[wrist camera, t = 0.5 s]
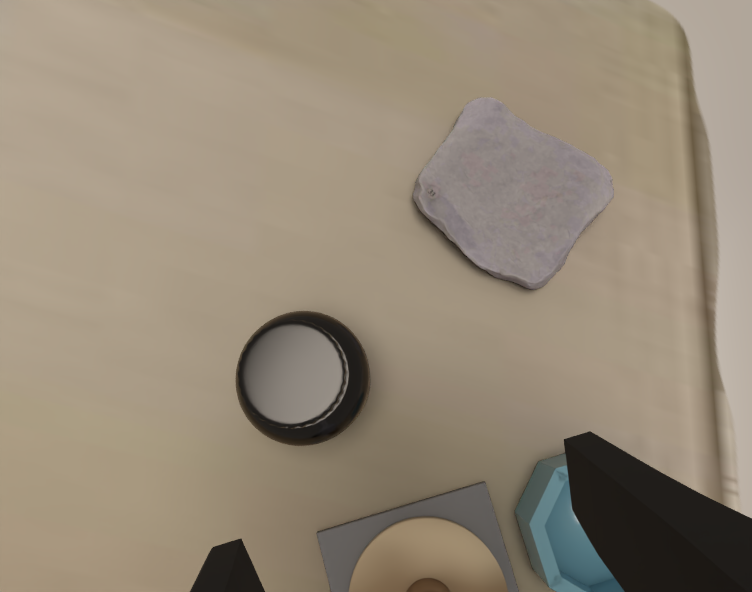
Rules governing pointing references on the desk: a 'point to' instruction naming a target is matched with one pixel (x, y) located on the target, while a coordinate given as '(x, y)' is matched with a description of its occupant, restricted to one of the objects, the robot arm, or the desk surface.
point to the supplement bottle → (302, 378)
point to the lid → (427, 560)
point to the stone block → (511, 193)
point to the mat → (458, 506)
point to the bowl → (559, 534)
